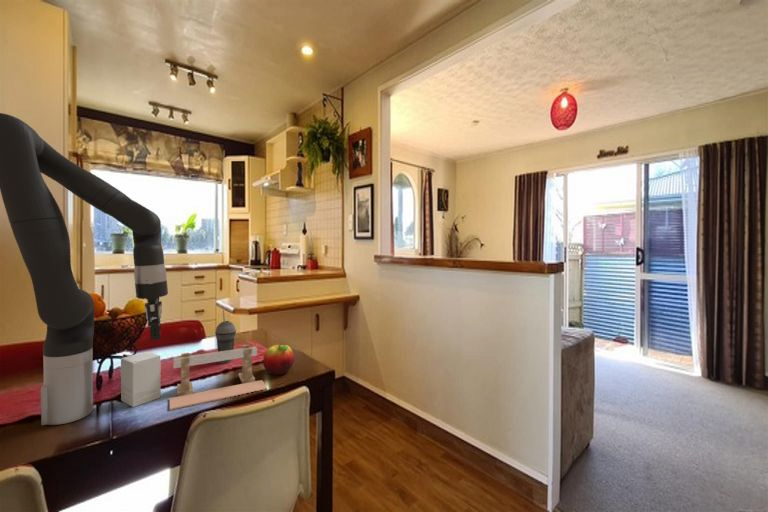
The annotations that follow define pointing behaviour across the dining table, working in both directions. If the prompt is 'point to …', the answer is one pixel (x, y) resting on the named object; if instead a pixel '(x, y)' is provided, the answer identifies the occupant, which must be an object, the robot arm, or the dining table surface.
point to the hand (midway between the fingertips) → (156, 335)
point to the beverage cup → (225, 336)
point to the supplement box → (140, 378)
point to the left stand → (185, 377)
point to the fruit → (278, 359)
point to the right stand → (247, 366)
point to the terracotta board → (215, 394)
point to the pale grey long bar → (214, 357)
